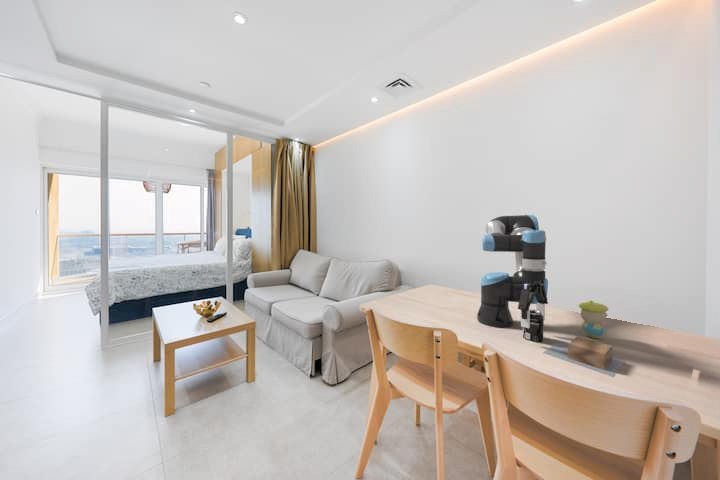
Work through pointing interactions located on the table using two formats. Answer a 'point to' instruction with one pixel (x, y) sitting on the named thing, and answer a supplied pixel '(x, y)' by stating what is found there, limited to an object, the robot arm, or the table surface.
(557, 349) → the plate
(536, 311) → the beverage can
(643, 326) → the table surface
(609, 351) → the walnut block
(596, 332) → the toy
